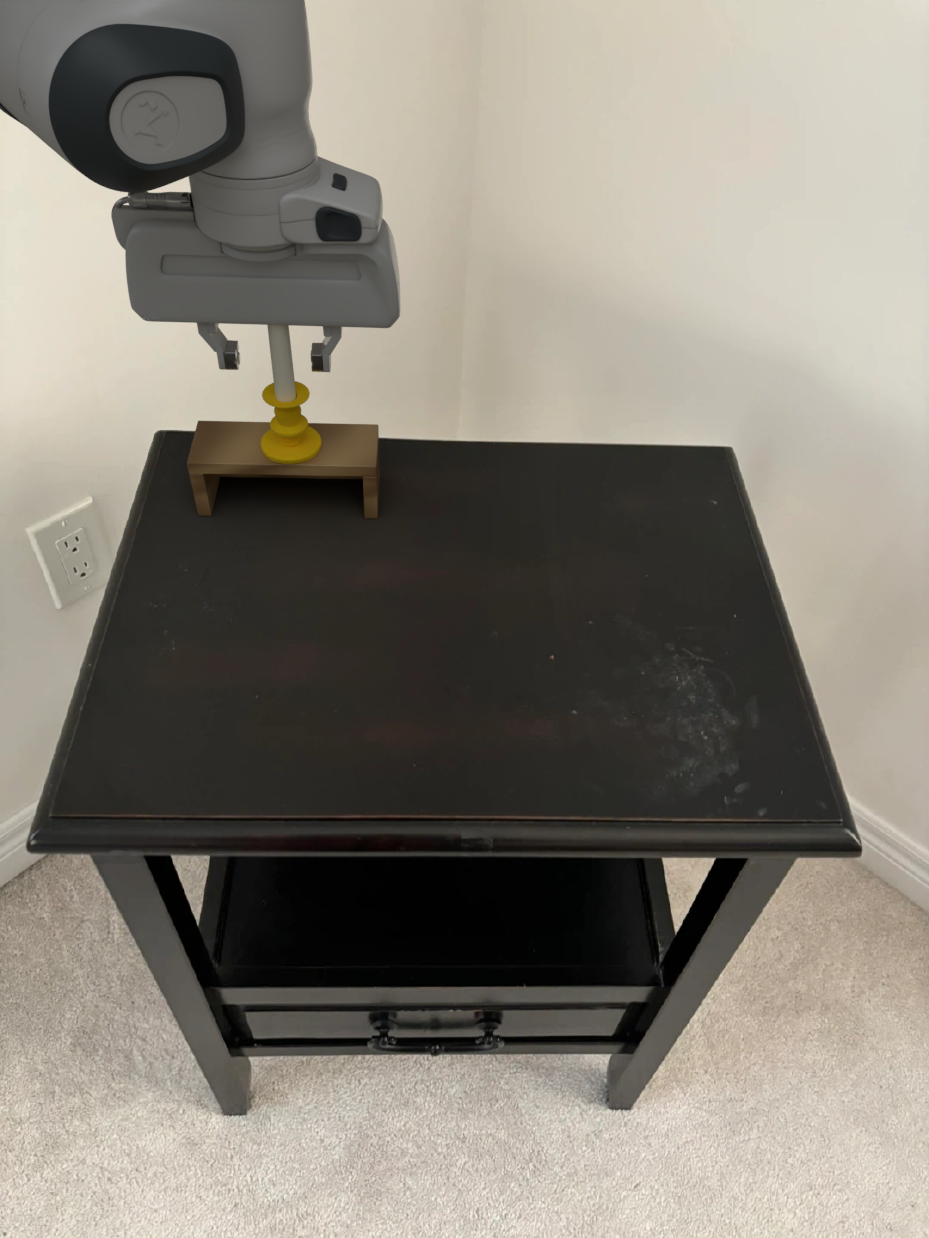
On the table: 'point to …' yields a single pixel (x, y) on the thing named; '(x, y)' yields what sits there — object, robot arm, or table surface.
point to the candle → (287, 407)
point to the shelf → (241, 455)
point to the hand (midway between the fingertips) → (276, 367)
